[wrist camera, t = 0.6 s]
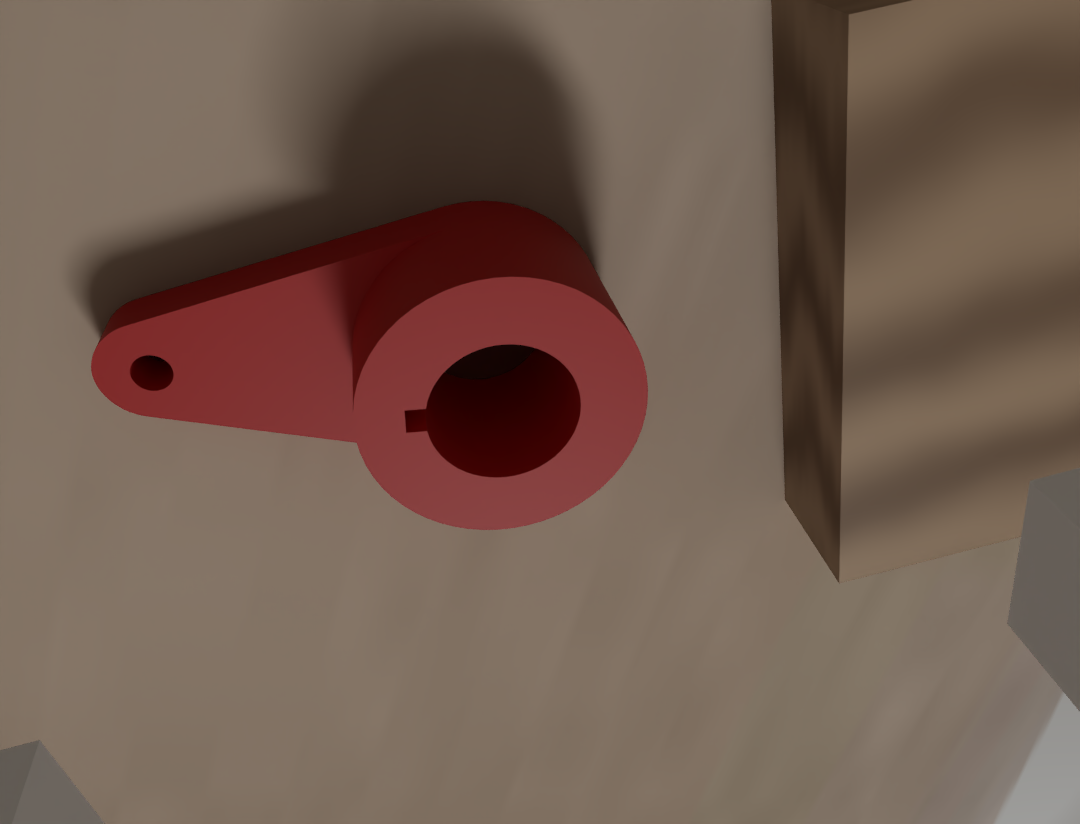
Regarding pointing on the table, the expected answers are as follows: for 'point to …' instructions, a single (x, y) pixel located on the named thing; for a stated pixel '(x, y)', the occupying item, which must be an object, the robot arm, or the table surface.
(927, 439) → the walnut base brick
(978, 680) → the table surface
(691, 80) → the table surface
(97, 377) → the lever
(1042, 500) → the robot arm
